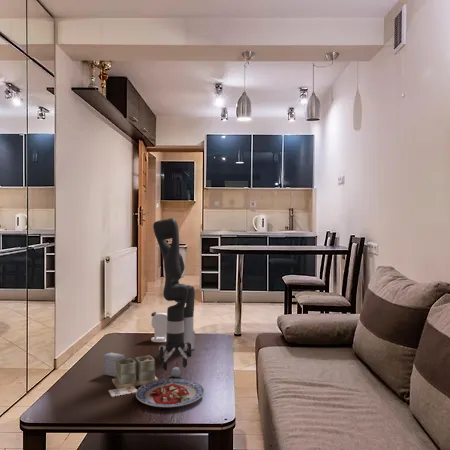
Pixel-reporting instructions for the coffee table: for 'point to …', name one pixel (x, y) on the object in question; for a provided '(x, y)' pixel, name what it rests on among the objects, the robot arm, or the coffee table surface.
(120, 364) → the tube stand
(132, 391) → the card
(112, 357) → the medicine box
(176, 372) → the grey ball
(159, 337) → the white bear shaped stand
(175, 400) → the ceramic plate
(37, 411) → the coffee table surface
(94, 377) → the coffee table surface
